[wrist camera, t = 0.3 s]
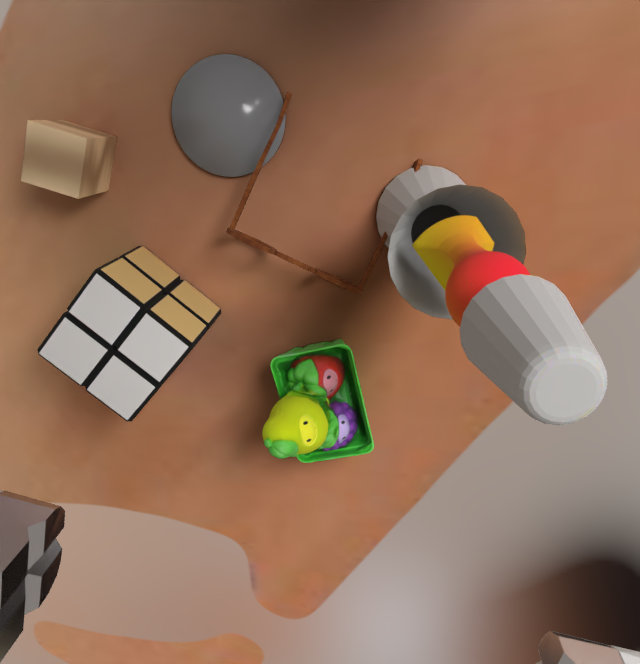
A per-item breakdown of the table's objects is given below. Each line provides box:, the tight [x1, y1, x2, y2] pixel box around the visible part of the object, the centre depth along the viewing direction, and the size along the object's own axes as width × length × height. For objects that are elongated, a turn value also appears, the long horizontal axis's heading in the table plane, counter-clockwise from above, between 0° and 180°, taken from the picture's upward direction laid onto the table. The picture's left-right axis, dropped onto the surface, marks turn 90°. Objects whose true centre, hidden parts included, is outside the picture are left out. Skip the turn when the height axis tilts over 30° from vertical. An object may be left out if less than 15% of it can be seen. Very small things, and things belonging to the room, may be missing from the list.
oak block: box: [21, 120, 117, 199], centre depth 52 cm, size 5×5×6 cm
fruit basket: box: [262, 339, 374, 463], centre depth 55 cm, size 11×9×11 cm
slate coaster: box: [172, 54, 286, 177], centre depth 52 cm, size 10×10×1 cm
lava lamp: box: [376, 165, 607, 425], centre depth 37 cm, size 9×9×35 cm
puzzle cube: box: [38, 246, 221, 421], centre depth 55 cm, size 10×10×10 cm
